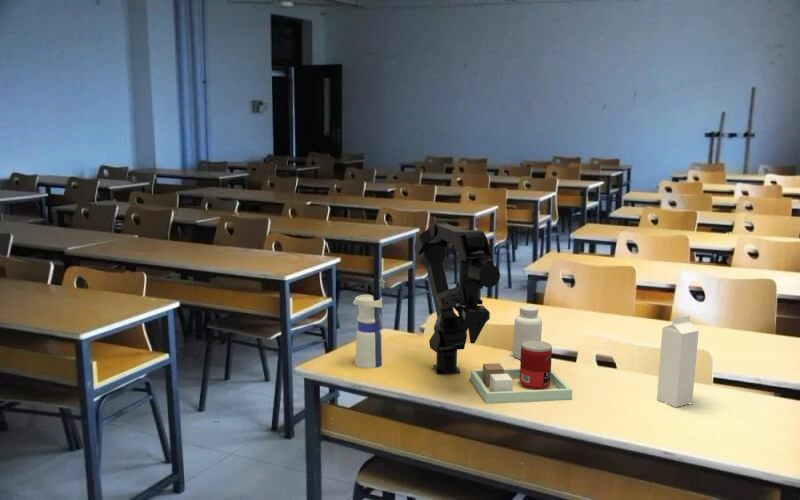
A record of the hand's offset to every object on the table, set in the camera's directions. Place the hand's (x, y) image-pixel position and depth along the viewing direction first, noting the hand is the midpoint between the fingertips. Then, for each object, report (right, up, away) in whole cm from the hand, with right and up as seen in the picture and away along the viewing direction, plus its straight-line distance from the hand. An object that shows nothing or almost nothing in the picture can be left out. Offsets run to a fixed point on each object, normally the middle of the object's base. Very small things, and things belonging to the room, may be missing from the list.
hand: (468, 337), depth 188 cm
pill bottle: (+20, -9, +26) cm, 34 cm away
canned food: (+18, -13, +3) cm, 22 cm away
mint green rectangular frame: (+13, -13, 0) cm, 19 cm away
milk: (+51, -15, -7) cm, 53 cm away
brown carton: (+7, -13, +3) cm, 15 cm away
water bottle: (-27, -10, +19) cm, 34 cm away
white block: (+8, -14, -4) cm, 17 cm away
